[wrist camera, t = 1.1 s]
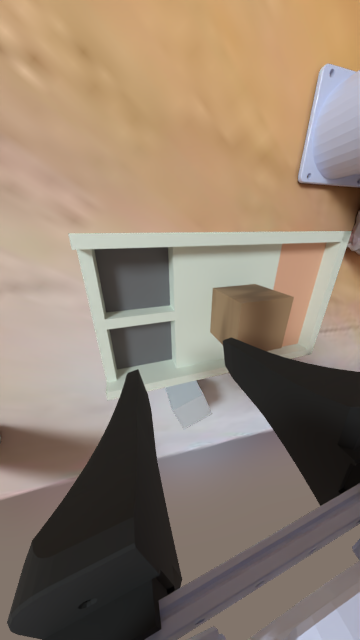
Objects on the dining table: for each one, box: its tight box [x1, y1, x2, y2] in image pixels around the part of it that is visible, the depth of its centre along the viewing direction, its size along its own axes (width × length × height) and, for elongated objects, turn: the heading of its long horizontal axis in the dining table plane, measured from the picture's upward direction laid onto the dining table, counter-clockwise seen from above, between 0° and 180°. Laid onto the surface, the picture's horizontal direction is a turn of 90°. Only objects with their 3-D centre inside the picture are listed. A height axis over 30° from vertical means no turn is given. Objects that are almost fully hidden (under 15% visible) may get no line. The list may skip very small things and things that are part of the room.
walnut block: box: [210, 284, 294, 351], centre depth 18 cm, size 5×5×5 cm
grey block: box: [165, 381, 212, 429], centre depth 24 cm, size 4×4×4 cm
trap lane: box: [68, 231, 352, 400], centre depth 20 cm, size 26×15×4 cm, turn 92°
